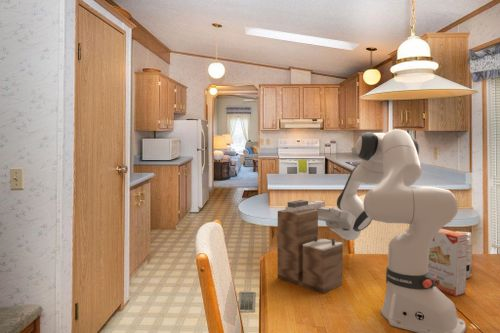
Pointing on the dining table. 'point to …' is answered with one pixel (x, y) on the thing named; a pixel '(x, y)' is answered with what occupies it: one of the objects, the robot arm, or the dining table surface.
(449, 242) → the cracker box
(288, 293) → the dining table surface
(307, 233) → the stepped wooden blocks
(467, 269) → the supplement can
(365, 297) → the dining table surface
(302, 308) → the dining table surface
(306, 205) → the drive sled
